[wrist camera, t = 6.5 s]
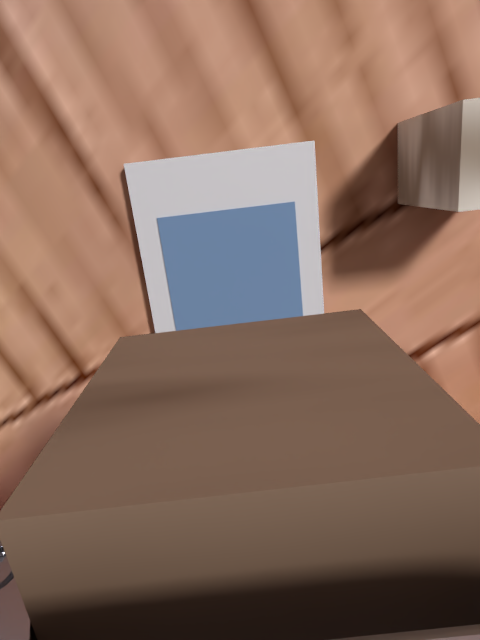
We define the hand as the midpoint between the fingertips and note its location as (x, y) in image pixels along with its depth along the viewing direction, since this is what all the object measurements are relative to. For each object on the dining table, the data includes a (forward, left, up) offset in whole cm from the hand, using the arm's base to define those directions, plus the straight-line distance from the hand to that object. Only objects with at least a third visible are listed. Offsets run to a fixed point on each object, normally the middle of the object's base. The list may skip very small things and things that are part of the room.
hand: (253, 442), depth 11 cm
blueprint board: (0, 0, -20) cm, 20 cm away
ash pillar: (+6, -14, -20) cm, 25 cm away
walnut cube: (0, 0, -1) cm, 1 cm away
